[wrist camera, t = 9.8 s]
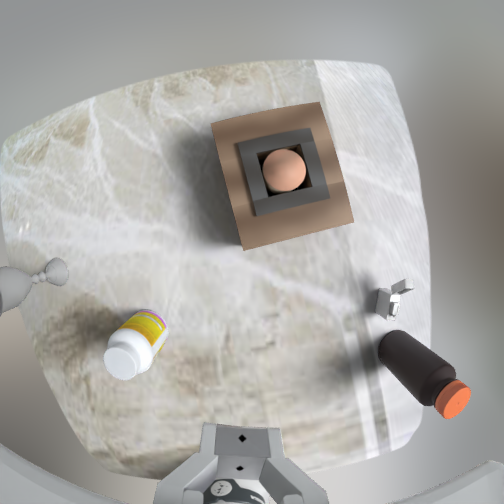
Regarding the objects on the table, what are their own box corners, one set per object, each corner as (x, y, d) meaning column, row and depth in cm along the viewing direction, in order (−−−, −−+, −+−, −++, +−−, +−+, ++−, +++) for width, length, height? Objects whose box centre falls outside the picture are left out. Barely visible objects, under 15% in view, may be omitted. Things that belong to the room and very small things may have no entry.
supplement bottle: (130, 306, 42) (93, 335, 29) (169, 311, 42) (141, 344, 29) (132, 343, 42) (100, 381, 30) (170, 349, 43) (146, 391, 30)
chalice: (74, 257, 41) (1, 276, 23) (72, 295, 41) (4, 327, 23) (45, 248, 40) (-26, 261, 22) (43, 284, 41) (-24, 309, 23)
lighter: (383, 312, 43) (407, 328, 35) (374, 312, 43) (397, 328, 35) (390, 270, 42) (416, 280, 34) (381, 270, 42) (406, 279, 34)
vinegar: (381, 369, 44) (438, 433, 24) (372, 341, 43) (435, 403, 23) (411, 351, 44) (475, 403, 24) (404, 322, 43) (476, 370, 23)
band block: (334, 222, 41) (356, 222, 32) (243, 245, 41) (243, 251, 33) (306, 121, 39) (320, 100, 31) (216, 141, 39) (209, 122, 31)
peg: (298, 192, 40) (310, 185, 32) (264, 200, 40) (269, 195, 32) (289, 159, 39) (299, 145, 31) (255, 167, 39) (258, 154, 31)
